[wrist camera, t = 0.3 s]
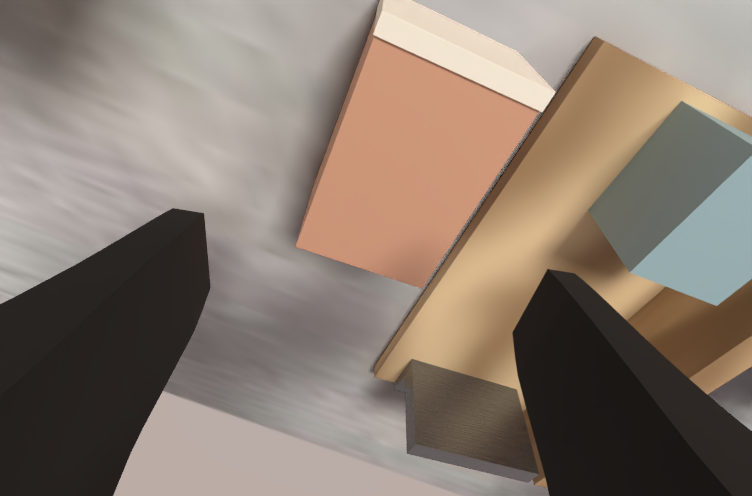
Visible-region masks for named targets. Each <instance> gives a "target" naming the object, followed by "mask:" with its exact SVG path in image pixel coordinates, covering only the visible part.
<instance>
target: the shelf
mask: <svg viewBox="0 0 752 496" xmlns="http://www.w3.org/2000/svg"><path fill="white" fill-rule="evenodd" d="M681 101H683V102H685V103H687V104H689V105H691V106H693V107H695V108H697V109H699V110H701V111H703V112H705V113H707V114H709V115H711V116H713V117H715V118H717V119H719V120H721V121H723V122H725V123H727V124H728V125H730V126H732V127H734V128H736V129H738V130H740V131H742V132H744V133H746V134H748V135H750V136H752V117H750V116H748V115H746V114H744V113H742V112H740V111H738V110H736V109H734V108H733V107H731V106H729V105H727V104H725V103H723V102H721V101H719V100H717V99H715V98H713V97H711V96H709V95H707V94H706V93H704V92H702V91H700V90H698V89H696V88H694V87H692V86H690V85H688V84H686V83H684V82H682V81H680V80H679V79H677V78H675V77H673V76H671V75H669V74H667V73H665V72H663V71H661V70H659V69H657V68H655V67H653V66H651V65H650V64H648V63H646V62H644V61H642V60H640V59H638V58H636V57H634V56H632V55H630V54H628V53H626V52H624V51H623V50H621V49H619V48H617V47H615V46H613V45H611V44H609V43H607V42H605V41H603V40H601V39H599V38H597V37H596V36H595V37H594V39H593V40H592V42H591V43H590V45H589V46H588V48H587V49H586V51H585V52H584V54H583V55H582V57H581V58H580V60H579V61H578V63H577V64H576V66H575V67H574V69H573V70H572V72H571V73H570V75H569V76H568V78H567V79H566V81H565V82H564V84H563V85H562V87H561V88H560V90H559V91H558V93H557V94H556V96H555V97H554V99H553V100H552V102H551V103H550V105H549V106H548V108H547V109H546V111H545V112H544V114H543V115H542V117H541V118H540V120H539V121H538V123H537V124H536V126H535V127H534V129H533V130H532V132H531V133H530V135H529V136H528V138H527V139H526V140H525V142H524V143H523V145H522V146H521V148H520V149H519V151H518V152H517V154H516V155H515V157H514V158H513V160H512V161H511V163H510V164H509V166H508V167H507V169H506V170H505V172H504V173H503V175H502V176H501V178H500V179H499V181H498V182H497V184H496V185H495V187H494V188H493V190H492V191H491V193H490V194H489V196H488V197H487V199H486V200H485V202H484V203H483V205H482V206H481V208H480V209H479V211H478V212H477V214H476V215H475V217H474V218H473V220H472V221H471V223H470V224H469V226H468V227H467V229H466V230H465V232H464V233H463V235H462V236H461V238H460V239H459V241H458V242H457V244H456V245H455V247H454V248H453V250H452V251H451V253H450V254H449V256H448V257H447V259H446V260H445V262H444V263H443V265H442V266H441V268H440V269H439V271H438V272H437V274H436V275H435V277H434V278H433V280H432V281H431V283H430V284H429V286H428V287H427V289H426V290H425V292H424V293H423V295H422V296H421V298H420V299H419V301H418V302H417V304H416V305H415V307H414V308H413V310H412V311H411V313H410V314H409V316H408V317H407V319H406V320H405V322H404V323H403V325H402V326H401V328H400V329H399V331H398V332H397V333H396V335H395V336H394V338H393V339H392V341H391V342H390V344H389V345H388V347H387V348H386V350H385V351H384V353H383V354H382V356H381V357H380V359H379V360H378V362H377V363H376V365H375V372H374V377H375V378H379V379H383V380H386V381H390V382H395V381H396V380H397V378H398V377H399V376H400V374H401V373H402V371H403V370H404V369H405V367H406V366H407V365H408V363H409V362H410V361H411V359H414V360H418V361H421V362H425V363H428V364H432V365H435V366H438V367H442V368H445V369H449V370H452V371H456V372H459V373H462V374H466V375H469V376H473V377H476V378H480V379H483V380H486V381H490V382H493V383H497V384H500V385H504V386H507V387H510V388H514V389H517V392H518V396H519V399H520V403H521V407H522V411H523V415H524V418H525V422H526V426H527V430H528V433H529V437H530V441H531V445H532V449H533V452H534V456H535V460H536V464H537V467H538V471H539V475H538V476H537V477H535V478H534V479H533V481H534V485H538V486H542V487H546V488H548V487H547V483H546V478H545V475H544V471H543V467H542V464H541V460H540V456H539V453H538V449H537V446H536V442H535V438H534V435H533V431H532V427H531V424H530V420H529V417H528V413H527V409H526V405H525V402H524V398H523V394H522V390H521V387H520V383H519V379H518V374H517V367H516V360H515V353H514V344H513V334H512V332H513V330H514V329H515V327H516V325H517V323H518V321H519V320H520V318H521V316H522V314H523V312H524V311H525V309H526V307H527V305H528V303H529V302H530V300H531V298H532V296H533V294H534V293H535V291H536V289H537V287H538V285H539V284H540V282H541V280H542V278H543V276H544V275H545V273H546V271H547V269H551V270H557V271H563V272H570V273H575V274H576V275H578V276H579V277H580V278H581V279H582V280H584V281H585V282H586V283H587V284H588V285H589V286H590V287H592V288H593V289H594V290H595V291H596V292H597V293H598V294H599V295H600V296H601V297H602V298H603V299H604V300H606V301H607V302H608V303H609V304H610V305H611V306H612V307H613V308H614V309H615V310H616V311H617V312H618V313H619V314H620V315H621V316H622V317H623V318H624V319H625V320H626V321H627V322H628V323H630V324H631V325H632V326H633V327H634V328H635V329H636V330H637V331H638V332H639V333H640V334H641V335H642V336H643V337H644V338H645V339H646V340H647V341H648V342H649V343H651V344H652V345H653V346H654V347H655V348H656V349H657V350H658V351H659V352H660V353H661V354H662V355H663V356H664V357H666V358H667V359H668V360H669V361H670V362H671V363H672V364H673V365H674V366H675V367H677V368H678V369H679V370H680V371H681V372H682V373H683V374H684V375H685V376H687V377H688V378H689V379H690V380H691V381H692V382H693V383H695V384H696V385H697V386H698V387H699V388H700V389H701V390H703V391H704V392H705V393H706V394H707V395H708V394H709V393H711V392H712V391H714V390H716V389H717V388H719V387H720V386H722V385H723V384H725V383H726V382H728V381H730V380H731V379H733V378H734V377H736V376H737V375H739V374H741V373H742V372H744V371H745V370H747V369H748V368H750V367H751V366H752V279H751V280H750V281H748V282H747V283H746V284H745V285H743V286H742V287H741V288H739V289H738V290H737V291H735V292H734V293H733V294H732V295H730V296H729V297H728V298H726V299H725V300H724V301H722V302H721V303H720V304H719V305H717V306H715V305H713V304H710V303H708V302H705V301H702V300H700V299H697V298H695V297H692V296H689V295H687V294H684V293H682V292H679V291H676V290H674V289H671V288H669V287H666V286H663V285H661V284H658V283H655V282H653V281H650V280H648V279H645V278H642V277H640V276H637V275H635V274H632V273H630V272H629V271H628V269H627V268H626V266H625V265H624V264H623V262H622V261H621V259H620V258H619V256H618V255H617V253H616V252H615V250H614V249H613V247H612V246H611V244H610V243H609V241H608V240H607V238H606V237H605V235H604V234H603V232H602V231H601V229H600V228H599V226H598V225H597V223H596V222H595V220H594V219H593V217H592V216H591V214H590V213H589V211H588V210H589V208H590V207H591V206H592V205H593V204H594V203H595V201H596V200H597V199H598V198H599V197H600V196H601V194H602V193H603V192H604V191H605V190H606V189H607V187H608V186H609V185H610V184H611V183H612V182H613V180H614V179H615V178H616V177H617V176H618V175H619V173H620V172H621V171H622V170H623V169H624V168H625V166H626V165H627V164H628V163H629V162H630V161H631V159H632V158H633V157H634V156H635V155H636V154H637V152H638V151H639V150H640V149H641V148H642V147H643V145H644V144H645V143H646V142H647V141H648V140H649V138H650V137H651V136H652V135H653V134H654V133H655V131H656V130H657V129H658V128H659V127H660V126H661V124H662V123H663V122H664V121H665V120H666V119H667V117H668V116H669V115H670V114H671V113H672V112H673V110H674V109H675V108H676V107H677V106H678V105H679V103H680V102H681Z"/></svg>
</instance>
